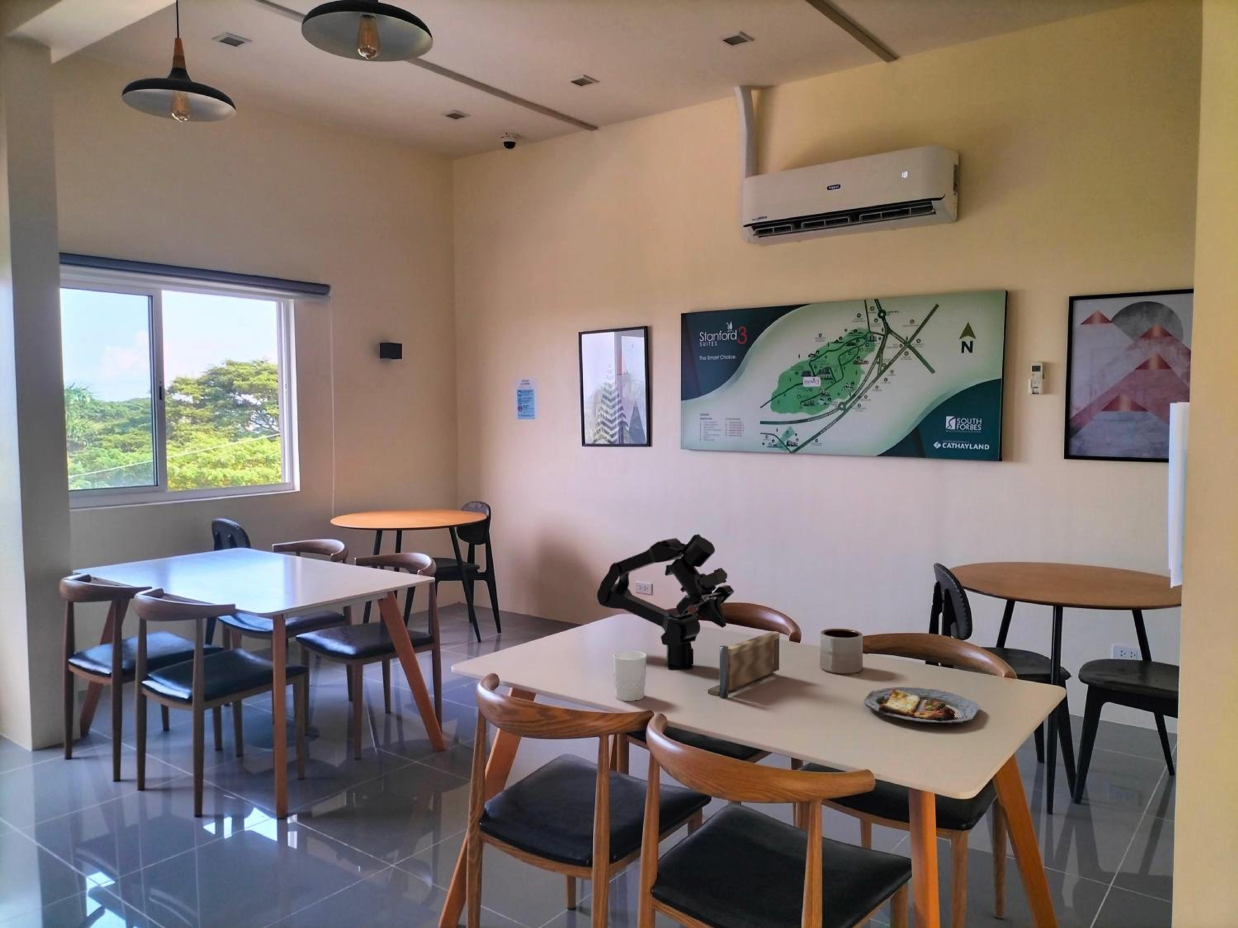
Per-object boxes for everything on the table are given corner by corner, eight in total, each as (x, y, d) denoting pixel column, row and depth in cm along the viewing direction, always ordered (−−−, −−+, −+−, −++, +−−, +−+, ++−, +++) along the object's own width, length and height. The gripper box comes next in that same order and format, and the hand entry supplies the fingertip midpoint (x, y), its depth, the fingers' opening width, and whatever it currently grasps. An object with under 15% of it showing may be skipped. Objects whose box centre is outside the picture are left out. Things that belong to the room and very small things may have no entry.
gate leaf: (730, 689, 203) (731, 649, 203) (724, 688, 204) (724, 648, 204) (779, 669, 220) (779, 632, 219) (773, 668, 221) (773, 631, 220)
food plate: (965, 738, 175) (965, 720, 175) (852, 719, 188) (852, 703, 188) (986, 707, 196) (986, 691, 196) (883, 692, 209) (883, 677, 209)
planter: (816, 672, 223) (817, 635, 222) (823, 661, 233) (823, 626, 232) (860, 677, 218) (860, 639, 218) (864, 665, 229) (865, 630, 228)
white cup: (651, 694, 205) (651, 652, 204) (638, 704, 198) (638, 661, 197) (621, 690, 208) (621, 649, 208) (607, 699, 201) (607, 657, 201)
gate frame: (725, 698, 201) (725, 648, 201) (705, 694, 205) (705, 644, 204) (782, 674, 220) (782, 628, 220) (763, 670, 224) (763, 625, 224)
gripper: (685, 563, 214) (722, 613, 208) (728, 554, 228) (763, 601, 222) (660, 590, 220) (695, 640, 213) (703, 580, 234) (737, 626, 227)
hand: (724, 626), depth 219 cm, fingers closed
